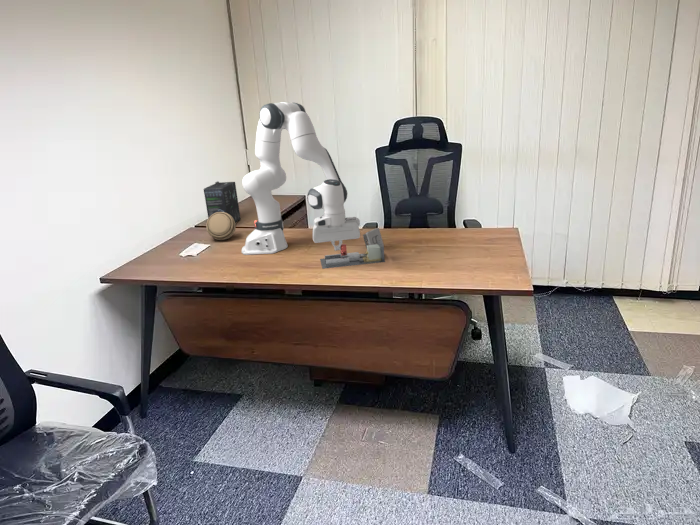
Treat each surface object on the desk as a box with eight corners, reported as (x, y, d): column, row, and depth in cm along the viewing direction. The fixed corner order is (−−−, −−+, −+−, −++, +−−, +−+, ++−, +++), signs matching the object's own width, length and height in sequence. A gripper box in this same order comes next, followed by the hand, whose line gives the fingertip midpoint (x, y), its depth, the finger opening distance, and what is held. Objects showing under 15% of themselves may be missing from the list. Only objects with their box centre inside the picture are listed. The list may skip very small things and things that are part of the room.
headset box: (222, 220, 300) (216, 178, 292) (241, 219, 299) (235, 177, 290) (209, 230, 279) (201, 185, 271) (229, 229, 278) (222, 184, 269)
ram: (341, 262, 208) (340, 246, 205) (340, 260, 210) (339, 244, 208) (366, 259, 209) (365, 243, 206) (365, 257, 211) (364, 241, 209)
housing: (366, 260, 208) (366, 249, 206) (365, 256, 213) (364, 245, 211) (380, 258, 208) (380, 247, 207) (378, 255, 213) (378, 244, 212)
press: (322, 270, 202) (321, 255, 200) (320, 261, 214) (318, 246, 212) (385, 264, 205) (384, 248, 203) (379, 254, 217) (378, 239, 215)
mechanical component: (203, 241, 258) (198, 213, 253) (226, 234, 268) (222, 207, 263) (219, 245, 248) (215, 217, 243) (243, 237, 259) (239, 210, 254)
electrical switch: (372, 252, 221) (370, 232, 219) (363, 251, 225) (361, 232, 222) (384, 246, 228) (381, 227, 226) (375, 246, 231) (373, 227, 229)
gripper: (358, 214, 206) (360, 245, 211) (310, 219, 204) (313, 250, 209) (360, 218, 200) (362, 249, 205) (311, 223, 198) (314, 254, 203)
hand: (337, 250), depth 207 cm, fingers closed
